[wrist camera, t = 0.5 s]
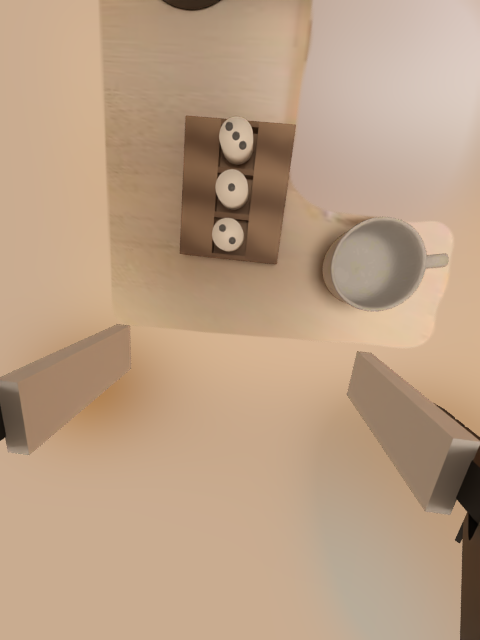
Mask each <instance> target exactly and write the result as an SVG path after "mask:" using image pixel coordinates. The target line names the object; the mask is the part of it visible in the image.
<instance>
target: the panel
mask: <svg viewBox="0 0 480 640" xmlns="http://www.w3.org/2000/svg"><path fill="white" fill-rule="evenodd" d="M226 120H227V119H220V118H208V117H196V116H186V120H185V144H184V167H183V191H182V214H181V237H180V254H186V255H195V256H204V257H213V258H223V259H232V260H241V261H250V262H260V263H269V264H277V258H278V250H279V243H280V236H281V229H282V222H283V214H284V207H285V200H286V193H287V186H288V178H289V171H290V164H291V157H292V150H293V142H294V135H295V128H296V125H293V124H281V123H269V122H257V121H248V122H249V123H250V125H251V127H252V130H253V152H252V155H251V157H250V158H249V160H248V161H246V162H245V163H243V164H240V165H235V164H232V163H230V162H229V161H228V160H227V159H226V158H225V156H224V154H223V151H222V147H221V144H220V140H219V133H220V129H221V126H222V125H223V123H224V122H225V121H226ZM229 169H234V170H238V171H240V172H241V173H242V174H243V175H244V176H245V178H246V180H247V184H248V199H247V202H246V203H245V205H244V206H243V207H241V208H240V209H237V210H230V209H227V208H226V207H224V206H223V205H222V203H221V201H220V200H219V198H218V196H217V194H216V188H215V187H216V181H217V179H218V177H219V176H220V174H221V173H223V172H224V171H226V170H229ZM223 218H232V219H234V220H236V221H237V222H238V223H239V224H240V225H241V227H242V230H243V233H244V241H243V243H242V245H241V247H240V248H239V249H237V250H235V251H232V252H228V251H224V250H222V249H220V248H219V247H217V246H216V244H215V243H214V241H213V238H212V230H213V227H214V225H215V224H216V223H217V222H218V221H219V220H221V219H223Z"/></svg>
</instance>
